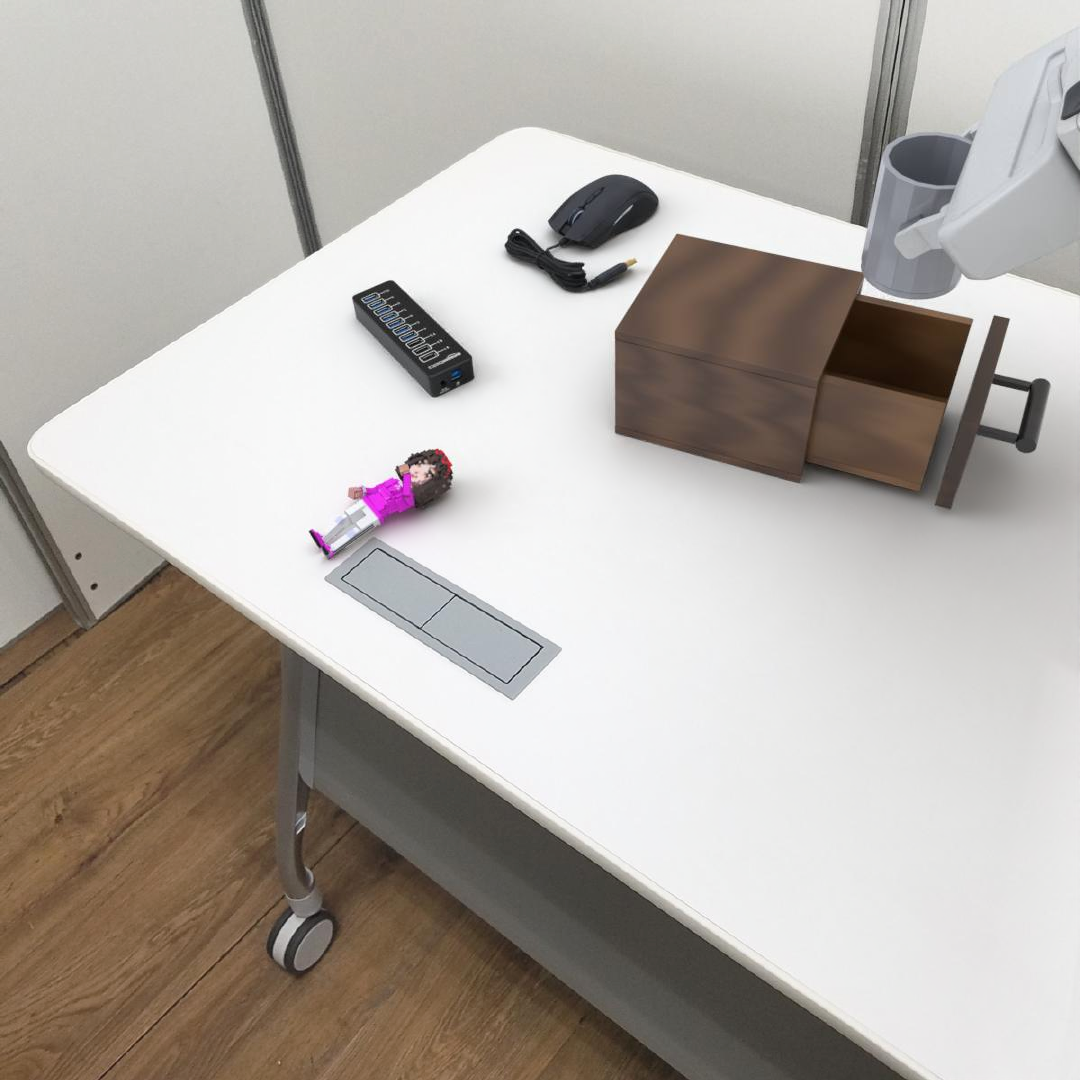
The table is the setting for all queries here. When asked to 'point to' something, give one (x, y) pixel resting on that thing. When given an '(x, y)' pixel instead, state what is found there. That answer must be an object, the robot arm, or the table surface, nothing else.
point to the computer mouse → (589, 227)
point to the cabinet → (730, 353)
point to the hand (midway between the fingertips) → (915, 211)
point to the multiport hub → (413, 338)
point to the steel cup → (912, 213)
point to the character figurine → (389, 498)
